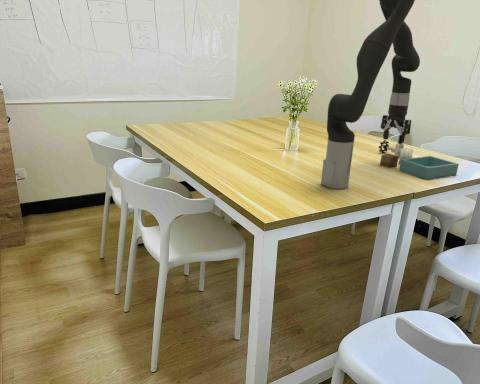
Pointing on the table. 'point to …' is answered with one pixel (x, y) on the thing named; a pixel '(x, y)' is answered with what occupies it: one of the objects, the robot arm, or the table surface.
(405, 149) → the ceramic capsule
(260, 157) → the table surface
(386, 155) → the walnut cube
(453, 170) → the tote
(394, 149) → the valve
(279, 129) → the table surface
